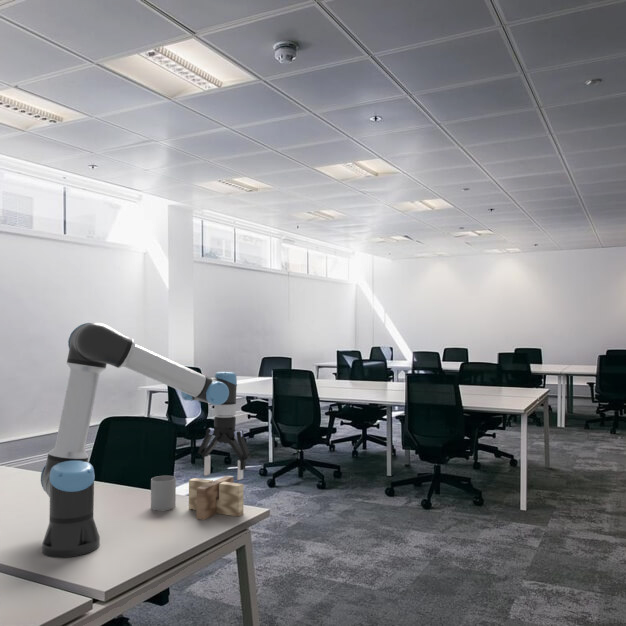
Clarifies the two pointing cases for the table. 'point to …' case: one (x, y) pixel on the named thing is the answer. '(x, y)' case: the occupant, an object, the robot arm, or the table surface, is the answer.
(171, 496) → the cup
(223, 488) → the notched wooden slab
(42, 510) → the table surface
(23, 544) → the table surface
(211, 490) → the walnut plate
